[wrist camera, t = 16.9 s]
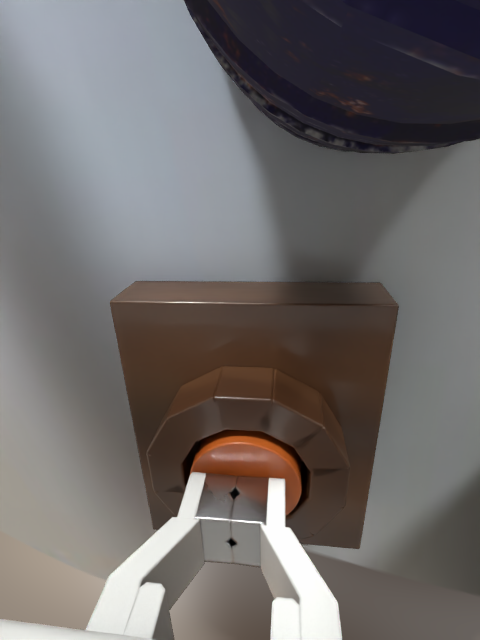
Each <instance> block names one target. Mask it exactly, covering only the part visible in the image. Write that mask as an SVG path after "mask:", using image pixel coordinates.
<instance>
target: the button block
mask: <svg viewBox="0 0 480 640" xmlns="http://www.w3.org/2000/svg"><path fill="white" fill-rule="evenodd" d="M110 307H111V312H112V317H113V322H114V327H115V333H116V338H117V343H118V348H119V353H120V358H121V364H122V369H123V374H124V379H125V384H126V389H127V395H128V400H129V405H130V410H131V415H132V420H133V426H134V431H135V436H136V441H137V446H138V452H139V457H140V462H141V467H142V472H143V477H144V483H145V488H146V493H147V498H148V503H149V508H150V514H151V519H152V524H153V529H154V530H159V529H160V528H161V527H162V526H163V525H164V524H165V523H166V522H168V521H169V520H170V519H171V518H172V517H177V515H178V512H179V509H180V506H181V502H182V499H183V496H184V493H185V489H186V486H187V483H188V480H189V477H190V471H191V467H192V464H193V461H194V458H195V455H196V451H197V448H198V445H199V442H200V440H201V439H204V438H206V437H209V436H211V435H214V434H216V433H218V432H221V431H223V430H226V429H228V430H246V431H262V432H264V433H266V434H268V435H270V436H272V437H274V438H276V439H278V440H280V441H282V442H284V443H286V444H288V445H290V446H292V447H294V449H295V450H296V452H297V453H298V455H299V456H300V465H301V486H302V491H301V496H300V499H299V501H298V503H297V505H296V507H295V508H294V509H293V510H292V511H291V512H290V513H289V514H288V515H286V516H285V527H288V528H291V530H292V531H293V533H294V534H295V536H296V538H297V539H298V541H299V542H300V543H301V544H311V545H322V546H332V547H343V548H353V549H359V548H360V543H361V537H362V531H363V525H364V518H365V512H366V506H367V500H368V494H369V488H370V481H371V475H372V469H373V463H374V457H375V450H376V444H377V438H378V432H379V426H380V420H381V413H382V407H383V401H384V395H385V389H386V383H387V376H388V370H389V364H390V358H391V352H392V345H393V339H394V333H395V327H396V321H397V315H398V308H399V305H398V304H397V303H396V301H395V300H394V299H393V297H392V296H391V295H390V294H389V292H388V291H387V290H386V289H385V287H384V286H383V285H382V284H381V283H352V282H193V281H135V282H134V283H133V284H131V285H130V286H129V287H127V288H126V289H125V290H124V291H122V292H121V293H120V294H118V295H117V296H116V297H115V298H113V299H112V300H111V301H110Z"/></svg>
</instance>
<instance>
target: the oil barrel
mask: <svg viewBox="0 0 480 640" xmlns="http://www.w3.org/2000/svg"><path fill="white" fill-rule="evenodd" d="M184 1H185V4H186V6H187V8H188V11H189V13H190V15H191V17H192V19H193V20H194V22H195V24H196V26H197V27H198V29H199V31H200V32H201V34H202V36H203V37H204V39H205V41H206V42H207V44H208V46H209V48H210V49H211V51H212V53H213V54H214V56H215V57H216V59H217V60H218V62H219V63H220V65H221V66H222V68H223V69H224V70H225V71H226V72H227V74H228V75H229V76H230V77H231V79H232V80H233V81H234V82H235V83H236V85H237V86H238V87H239V88H240V90H241V91H242V92H243V93H244V95H246V96H247V97H248V98H249V99H250V100H251V101H252V102H253V103H254V105H255V106H256V107H257V108H258V109H259V110H260V111H262V112H263V113H264V114H265V115H266V116H267V117H268V118H269V119H271V120H272V121H273V122H274V123H275V124H276V125H278V126H280V127H281V128H283V129H284V130H286V131H288V132H289V133H291V134H292V135H294V136H296V137H297V138H300V139H303V140H305V141H308V142H310V143H313V144H315V145H318V146H321V147H326V148H330V149H335V150H340V151H354V152H359V153H389V154H394V153H404V152H412V151H419V150H427V149H434V148H441V147H447V146H450V145H454V144H457V143H460V142H464V141H471V140H476V139H479V138H480V0H184Z"/></svg>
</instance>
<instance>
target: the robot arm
mask: <svg viewBox="0 0 480 640" xmlns="http://www.w3.org/2000/svg"><path fill="white" fill-rule="evenodd" d="M204 562H218V563H231V564H239V565H246V566H254V567H261V570H262V573H263V575H264V577H265V579H266V582H267V584H268V586H269V589H270V591H271V593H272V595H273V598H274V601H273V602H272V616H271V638H270V639H271V640H342V632H341V624H340V616H339V608H338V602H337V601H336V599H335V597H334V596H333V594H332V593H331V591H330V589H329V588H328V586H327V585H326V583H325V582H324V580H323V578H322V577H321V575H320V574H319V572H318V571H317V569H316V567H315V566H314V564H313V563H312V561H311V560H310V558H309V556H308V555H307V553H306V552H305V550H304V549H303V547H302V545H301V544H300V542H299V541H298V539H297V538H296V536H295V534H294V533H293V531H292V530H291V528H288V527H285V479H280V478H268V477H252V476H232V475H222V474H212V473H200V472H192V473H191V475H190V477H189V480H188V483H187V486H186V489H185V493H184V496H183V499H182V502H181V506H180V509H179V512H178V515H177V517H172V518H171V519H170V520H169V521H168V522H166V523H165V524H164V525H163V526H162V527H161V528H160V529H159V530H158V531H157V532H156V533H155V534H153V535H152V536H151V537H150V538H149V539H148V540H147V541H146V542H145V543H144V544H143V545H142V546H141V547H139V548H138V549H137V550H136V551H135V552H134V553H133V554H132V555H131V556H130V557H129V558H128V559H127V560H125V561H124V562H123V563H122V564H121V565H120V566H119V567H118V568H117V569H116V570H115V571H114V572H113V573H111V574H110V575H109V577H108V579H107V581H106V584H105V586H104V589H103V591H102V593H101V595H100V597H99V600H98V602H97V604H96V607H95V609H94V611H93V614H92V616H91V618H90V621H89V623H88V625H87V627H86V630H82V629H74V628H66V627H59V626H52V625H44V624H37V623H29V622H22V621H14V620H6V619H0V640H174V635H173V629H172V624H171V618H170V613H169V610H170V609H171V608H172V606H173V605H174V604H175V602H176V601H177V600H178V598H179V597H180V595H181V594H182V593H183V592H184V590H185V589H186V588H187V586H188V585H189V584H190V582H191V581H192V580H193V578H194V577H195V576H196V574H197V573H198V572H199V570H200V569H201V568H202V566H203V565H204Z"/></svg>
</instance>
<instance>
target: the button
mask: <svg viewBox="0 0 480 640" xmlns="http://www.w3.org/2000/svg"><path fill="white" fill-rule="evenodd" d="M192 472H200V473H212V474H222V475H232V476H252V477H268V478H280V479H285V516H286V515H288V514H289V513H290V512H291V511H292V510H293V509H294V508H295V507H296V505H297V503H298V501H299V499H300V496H301V491H302V486H301V465H300V456H299V455H298V453H297V452H296V450H295V449H294V447H292V446H290V445H288V444H286V443H284V442H282V441H280V440H278V439H276V438H274V437H272V436H270V435H268V434H266V433H264V432H262V431H246V430H228V429H226V430H223V431H221V432H218V433H216V434H214V435H211V436H209V437H206V438H204V439H201V440H200V442H199V445H198V448H197V451H196V455H195V458H194V461H193V464H192V467H191V471H190V475H191V473H192Z"/></svg>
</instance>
